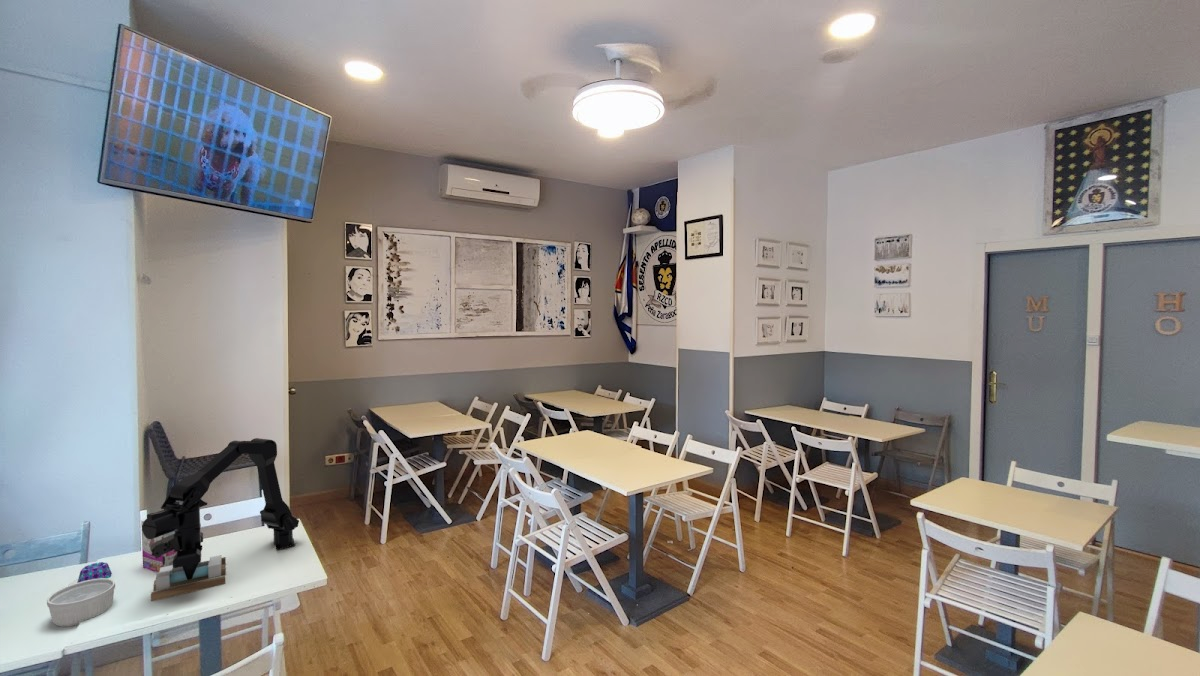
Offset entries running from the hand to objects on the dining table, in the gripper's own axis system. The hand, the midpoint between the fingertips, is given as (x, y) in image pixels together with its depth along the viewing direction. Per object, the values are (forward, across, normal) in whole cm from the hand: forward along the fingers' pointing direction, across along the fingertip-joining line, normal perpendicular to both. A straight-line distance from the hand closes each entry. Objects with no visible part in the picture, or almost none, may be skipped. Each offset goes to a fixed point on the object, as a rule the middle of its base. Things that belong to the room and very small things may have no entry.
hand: (189, 576), depth 157 cm
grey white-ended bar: (+3, -8, 0) cm, 9 cm away
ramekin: (+4, 0, -23) cm, 23 cm away
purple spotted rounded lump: (+4, -21, -24) cm, 32 cm away
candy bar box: (+4, -19, -8) cm, 21 cm away
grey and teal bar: (+1, 0, 0) cm, 1 cm away
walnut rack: (+4, -4, 0) cm, 6 cm away
